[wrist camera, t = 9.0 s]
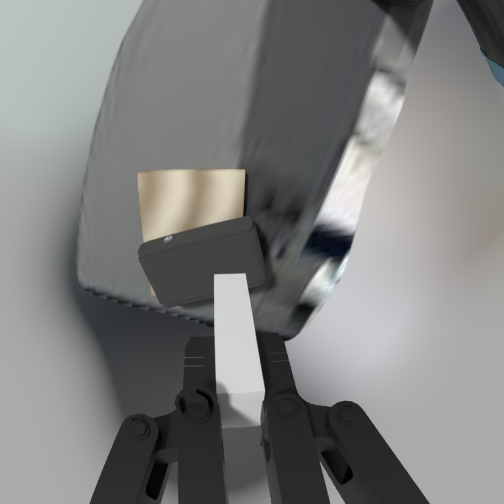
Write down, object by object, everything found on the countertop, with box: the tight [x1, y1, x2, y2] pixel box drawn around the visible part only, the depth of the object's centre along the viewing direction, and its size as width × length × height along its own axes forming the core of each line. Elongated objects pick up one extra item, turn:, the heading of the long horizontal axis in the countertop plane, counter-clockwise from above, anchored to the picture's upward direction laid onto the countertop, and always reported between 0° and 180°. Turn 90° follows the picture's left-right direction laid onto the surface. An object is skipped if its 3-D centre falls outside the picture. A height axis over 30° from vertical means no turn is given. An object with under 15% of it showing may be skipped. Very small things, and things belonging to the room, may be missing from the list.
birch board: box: [138, 169, 245, 296], centre depth 37 cm, size 13×18×1 cm
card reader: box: [138, 216, 268, 308], centre depth 36 cm, size 9×4×15 cm
